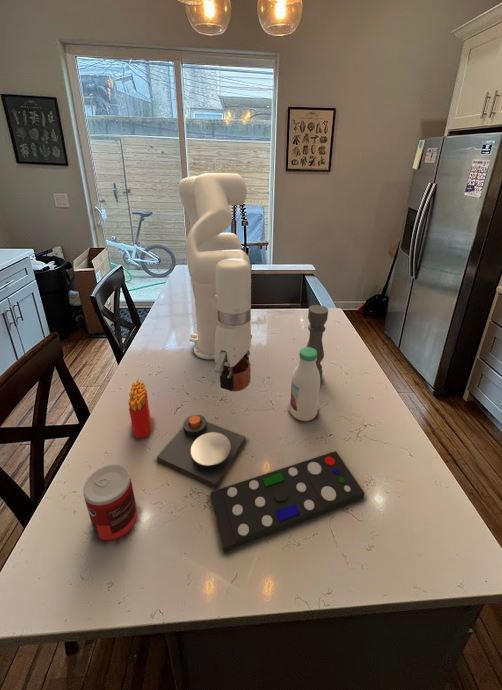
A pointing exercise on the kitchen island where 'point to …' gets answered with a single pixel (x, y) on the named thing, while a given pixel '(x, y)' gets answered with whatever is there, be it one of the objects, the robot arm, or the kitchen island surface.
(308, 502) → the remote control
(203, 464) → the scale pan
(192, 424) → the tare button
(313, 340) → the pepper mill
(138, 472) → the kitchen island surface
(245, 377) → the bowl
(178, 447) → the scale
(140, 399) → the french fries
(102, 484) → the canned food
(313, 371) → the milk bottle
